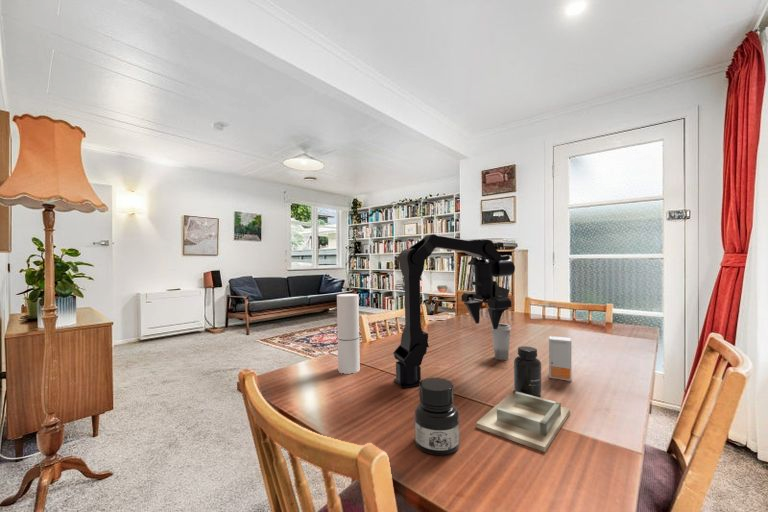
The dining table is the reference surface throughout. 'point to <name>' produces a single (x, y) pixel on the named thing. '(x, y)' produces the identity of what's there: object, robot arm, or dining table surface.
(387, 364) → the dining table surface
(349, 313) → the cylindrical container
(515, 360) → the supplement bottle
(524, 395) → the cradle board
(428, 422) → the ink bottle
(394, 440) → the dining table surface
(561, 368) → the skincare box
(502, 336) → the cup
